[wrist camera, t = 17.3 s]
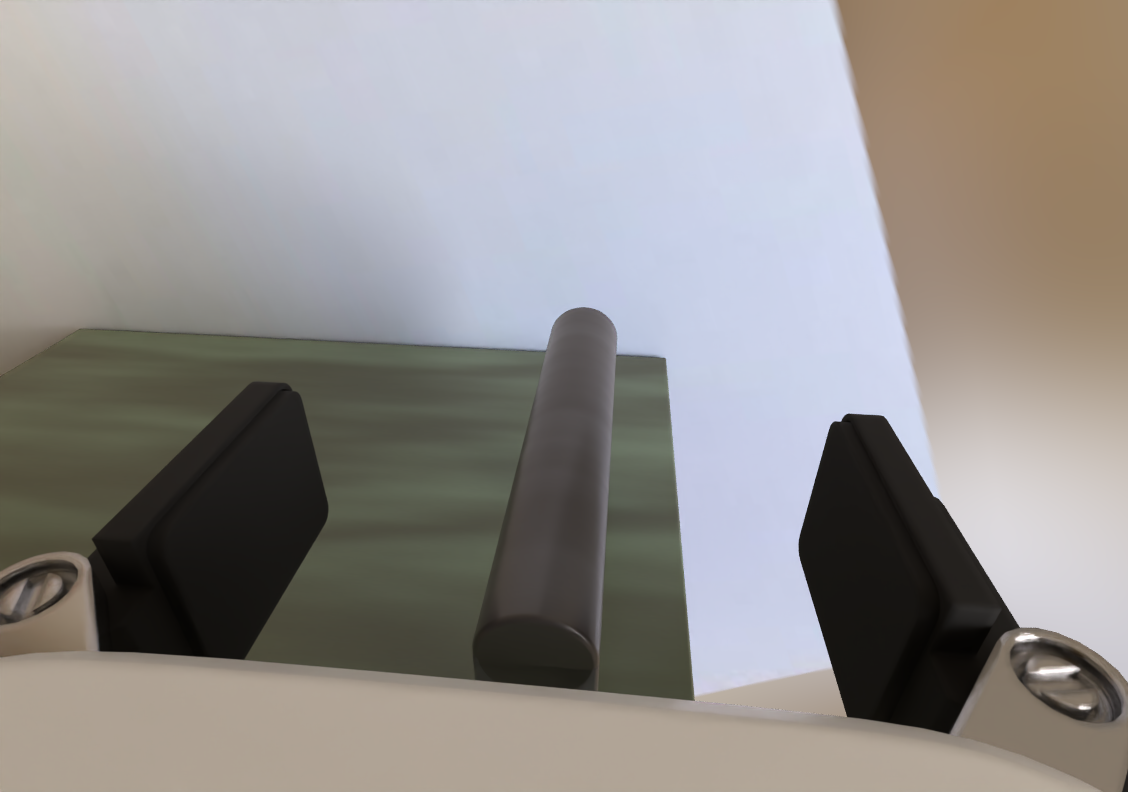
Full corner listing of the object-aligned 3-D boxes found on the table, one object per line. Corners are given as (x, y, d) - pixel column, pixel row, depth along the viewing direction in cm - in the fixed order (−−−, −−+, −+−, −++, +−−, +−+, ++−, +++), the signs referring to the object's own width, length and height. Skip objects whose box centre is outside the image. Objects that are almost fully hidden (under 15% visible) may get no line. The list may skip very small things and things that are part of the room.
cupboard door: (20, 196, 25) (-2381, 972, 5) (680, 218, 23) (971, 1647, 3) (89, 347, 29) (-1161, 1147, 9) (664, 377, 27) (747, 1511, 7)
